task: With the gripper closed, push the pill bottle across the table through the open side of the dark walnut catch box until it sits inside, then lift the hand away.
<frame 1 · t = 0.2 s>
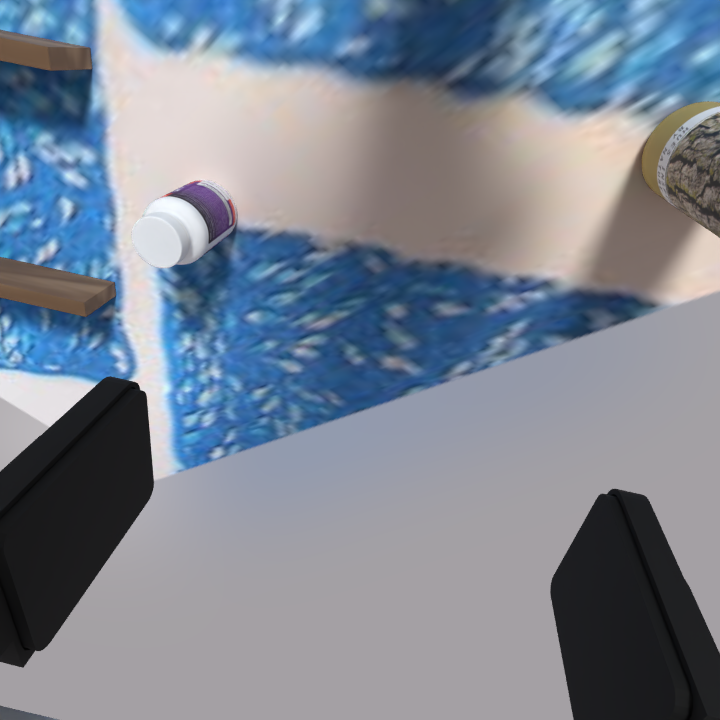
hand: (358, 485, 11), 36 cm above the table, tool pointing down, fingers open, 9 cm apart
catch box: (22, 169, 47), on the table
brown upright cylinder piece: (687, 151, 38), on the table
pill bottle: (210, 209, 46), on the table
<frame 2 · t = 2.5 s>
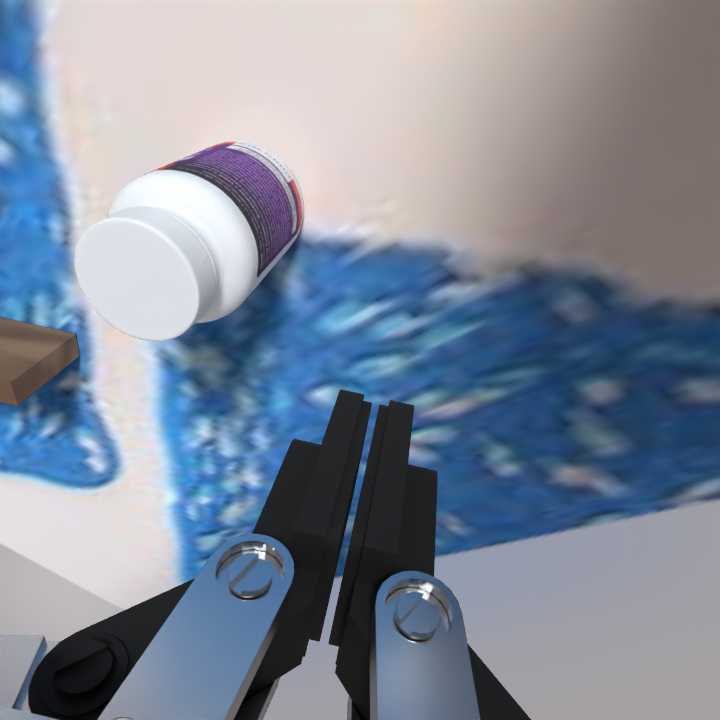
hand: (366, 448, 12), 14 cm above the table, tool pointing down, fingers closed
pill bottle: (250, 200, 24), on the table
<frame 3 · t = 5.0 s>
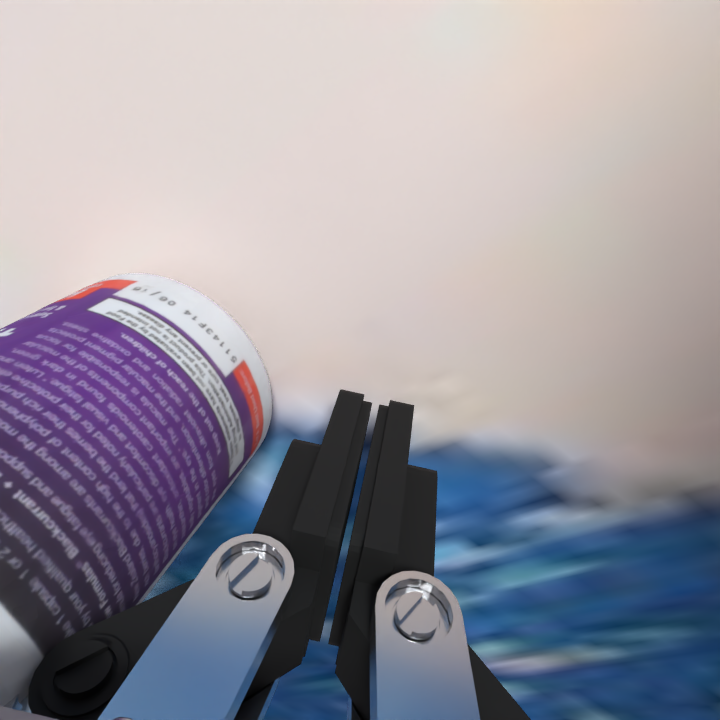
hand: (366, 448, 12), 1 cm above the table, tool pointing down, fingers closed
pill bottle: (183, 368, 13), on the table
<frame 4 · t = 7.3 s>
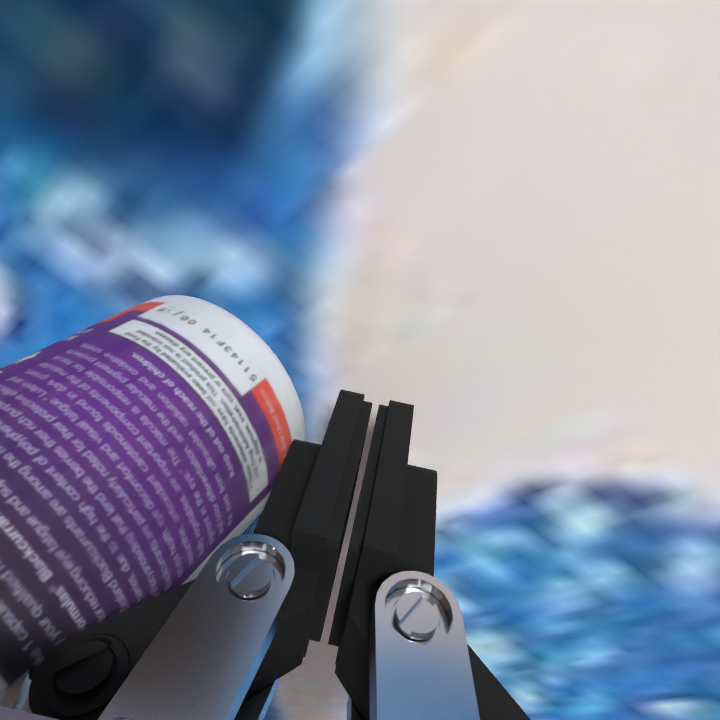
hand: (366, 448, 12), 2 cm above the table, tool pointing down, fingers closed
pill bottle: (225, 389, 13), point 1 cm above the table, touching gripper
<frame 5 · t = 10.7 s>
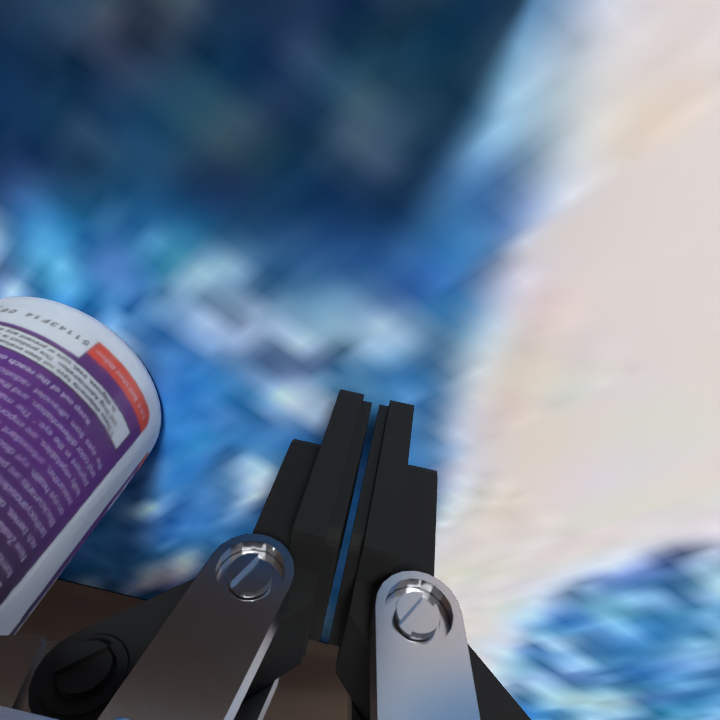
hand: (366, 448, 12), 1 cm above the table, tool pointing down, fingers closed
catch box: (108, 371, 13), on the table
pill bottle: (73, 382, 13), on the table
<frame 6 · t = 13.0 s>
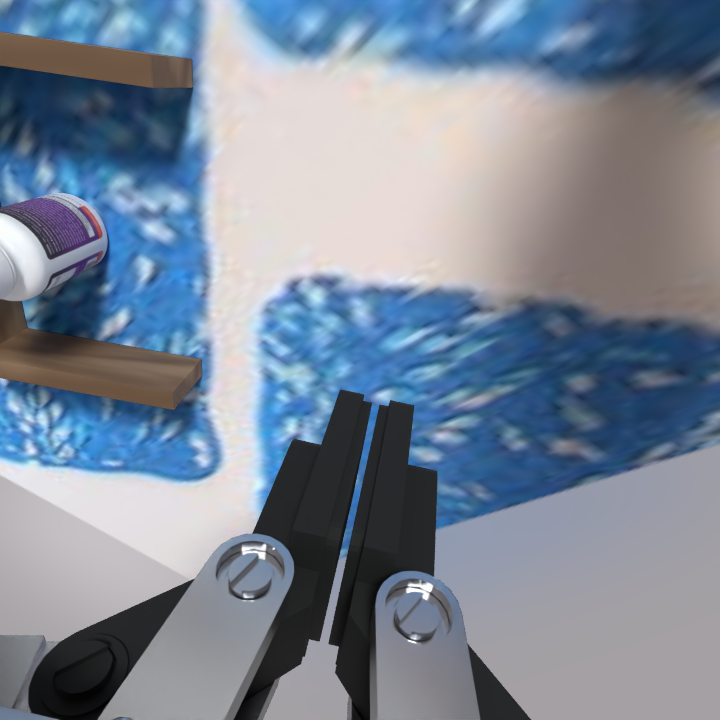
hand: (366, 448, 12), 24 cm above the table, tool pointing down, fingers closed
catch box: (88, 223, 36), on the table
pill bottle: (75, 230, 37), on the table
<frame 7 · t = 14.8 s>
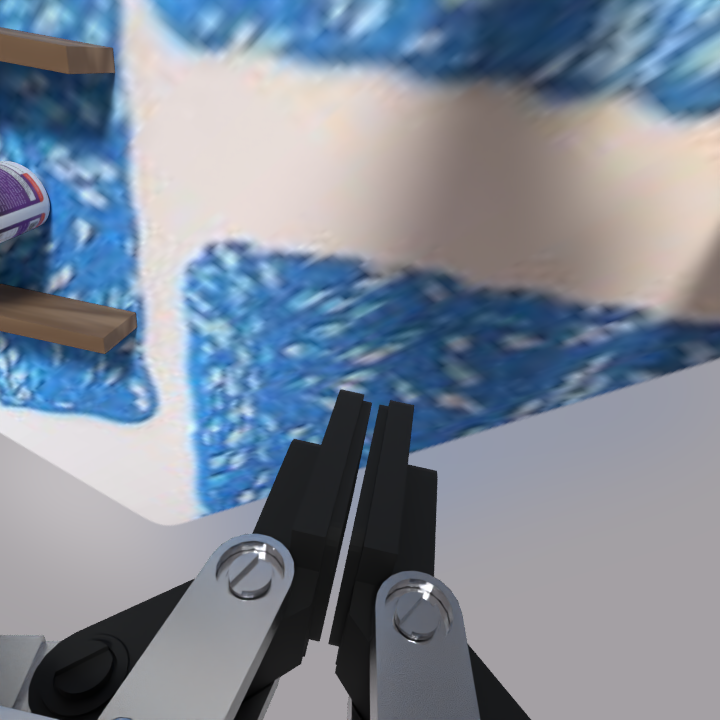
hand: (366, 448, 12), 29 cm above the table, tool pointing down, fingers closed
catch box: (32, 188, 41), on the table
pill bottle: (22, 194, 42), on the table
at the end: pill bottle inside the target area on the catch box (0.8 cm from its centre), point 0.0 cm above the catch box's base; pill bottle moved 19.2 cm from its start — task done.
